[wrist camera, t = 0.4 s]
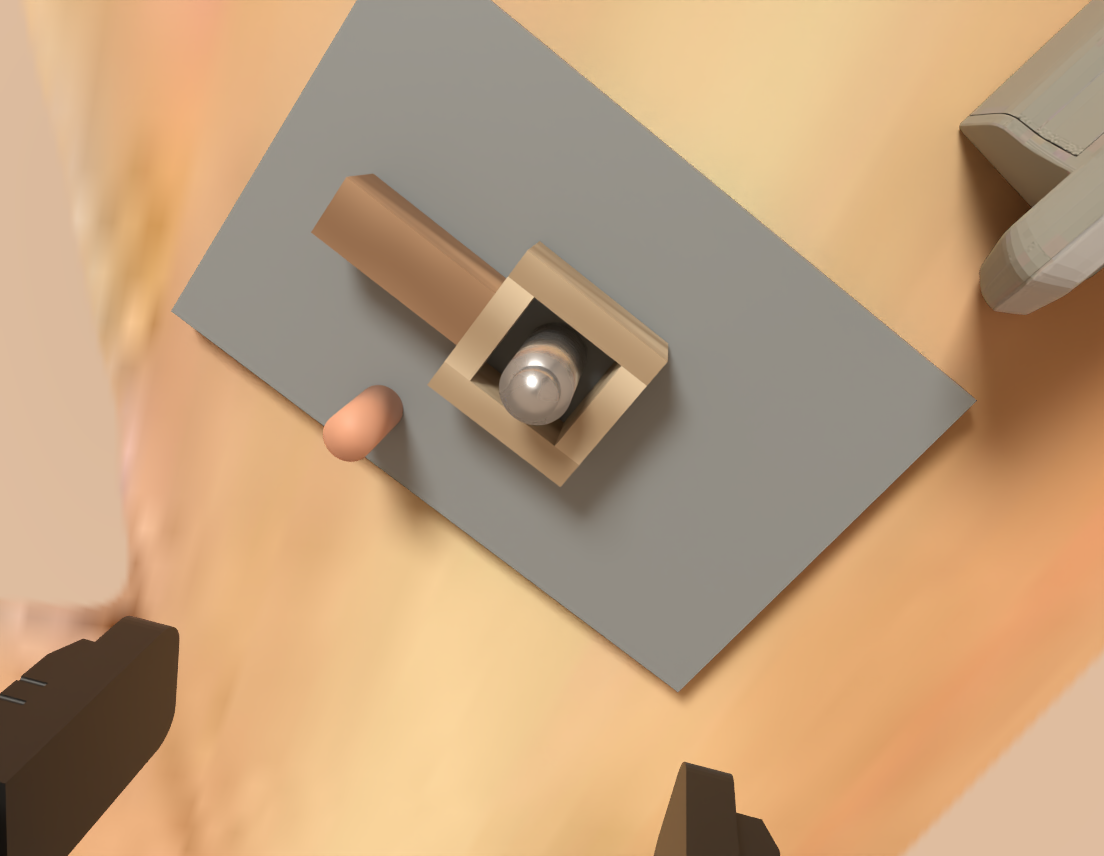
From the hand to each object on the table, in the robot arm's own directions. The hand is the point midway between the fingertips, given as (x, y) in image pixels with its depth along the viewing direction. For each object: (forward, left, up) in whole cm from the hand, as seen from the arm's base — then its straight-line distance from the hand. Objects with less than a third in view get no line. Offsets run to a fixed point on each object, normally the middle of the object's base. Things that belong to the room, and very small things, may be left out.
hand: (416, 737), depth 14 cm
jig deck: (0, -1, -25) cm, 25 cm away
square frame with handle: (0, -4, -24) cm, 24 cm away
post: (0, -1, -24) cm, 24 cm away
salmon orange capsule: (+7, -5, -24) cm, 25 cm away
